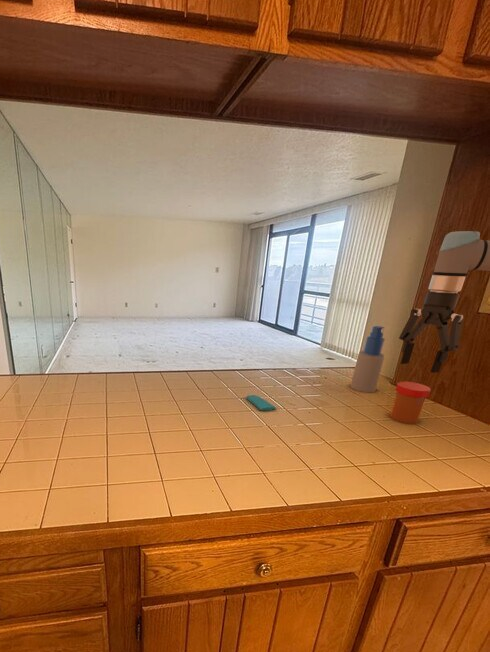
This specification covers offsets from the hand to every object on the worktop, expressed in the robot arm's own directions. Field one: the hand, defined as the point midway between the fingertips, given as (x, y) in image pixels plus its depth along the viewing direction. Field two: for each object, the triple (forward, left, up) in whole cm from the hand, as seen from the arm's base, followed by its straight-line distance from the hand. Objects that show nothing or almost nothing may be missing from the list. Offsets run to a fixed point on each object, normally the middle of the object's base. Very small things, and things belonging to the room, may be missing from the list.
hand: (419, 367), depth 107 cm
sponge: (+26, +38, -18) cm, 49 cm away
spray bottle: (+26, -12, -18) cm, 34 cm away
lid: (0, 0, -7) cm, 7 cm away
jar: (0, 0, -18) cm, 18 cm away
